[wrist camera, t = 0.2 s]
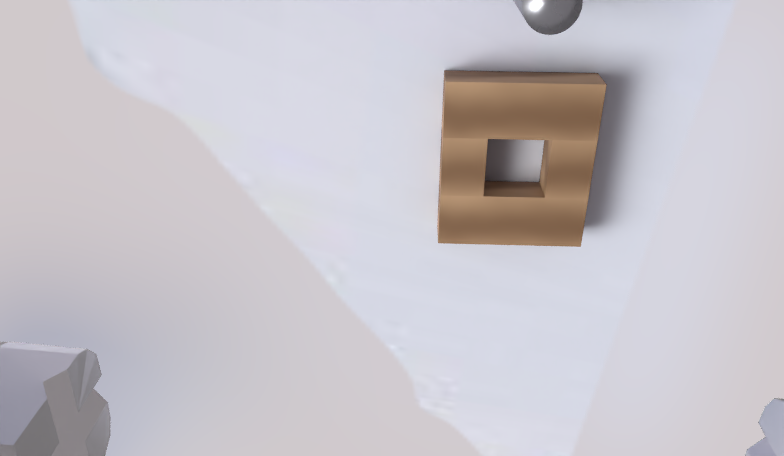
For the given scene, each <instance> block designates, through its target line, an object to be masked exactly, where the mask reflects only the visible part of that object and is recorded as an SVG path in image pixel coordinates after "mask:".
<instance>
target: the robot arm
mask: <svg viewBox="0 0 784 456" xmlns="http://www.w3.org/2000/svg"><path fill="white" fill-rule="evenodd" d="M100 377H101V370H100V367H99V363H98V359H97V355H96V354H95V353H94V352H92V351H90V350H88V349H82V348H71V347H61V346H51V345H40V344H30V343H19V342H0V456H105V454H106V450H107V446H108V442H109V438H110V413H109V408H108V402H107V401H106V400H105V399H103V397H102V396H101V395H100V394H99V393H97V392H96V391H95V390H94V389H93V388H94V386H95V385H96V383H97V382H98V380H99V378H100ZM758 423H759V425H760V427H761V429H762V430H763V433H764V434H765V436H766V437H765V438H763V439H762V440H760V441H759V442H757V443H756V444H754V445H753V446H752V447H750V448H749V449H747V451H746V454H745V456H784V399H778V398H774V399H773V400H772V401H771V402H770V403H769V404H768V405H767V406H766V407H765V408H764V411H763V413H762V415H761V418H760V420H759V422H758Z"/></svg>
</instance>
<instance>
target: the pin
mask: <svg viewBox="0 0 784 456" xmlns="http://www.w3.org/2000/svg"><path fill="white" fill-rule="evenodd" d="M513 1H514V2H515V4H516V5H517V7H518V9H519V10H520V12H521V13H522V15H523V17H524V18H525V20H526V22H527V23H528V24H529V26H530V27H531V28H532V29H534V30H535V31H537V32H539V33H542V34H548V35H552V34H558V33H561V32H563V31H565V30H566V29H568V28H569V27H571V26H572V25H573V24H574V22H575V21H576V20H577V18H578V17H579V14H580V12H581V9H582V0H513Z"/></svg>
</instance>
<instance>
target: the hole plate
mask: <svg viewBox="0 0 784 456" xmlns="http://www.w3.org/2000/svg"><path fill="white" fill-rule="evenodd" d="M606 85H607V84H606V83H605V82H604V81H603V79H602V78H601V77H600V76H599V74H598V73H562V72H503V71H444V89H443V112H442V135H441V157H440V180H439V203H438V225H437V227H438V243H452V244H494V245H535V246H577V247H581V241H582V235H583V229H584V222H585V216H586V210H587V204H588V197H589V191H590V185H591V179H592V173H593V166H594V160H595V154H596V148H597V141H598V135H599V129H600V123H601V116H602V110H603V104H604V98H605V91H606ZM488 139H520V140H544V148H543V157H542V165H541V173H540V181H539V182H506V181H485V169H486V156H487V144H488Z"/></svg>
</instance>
